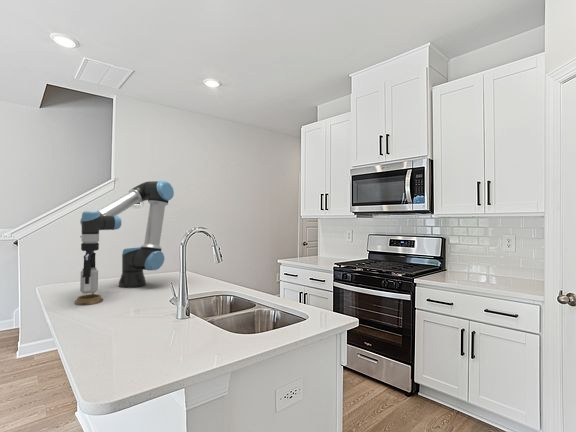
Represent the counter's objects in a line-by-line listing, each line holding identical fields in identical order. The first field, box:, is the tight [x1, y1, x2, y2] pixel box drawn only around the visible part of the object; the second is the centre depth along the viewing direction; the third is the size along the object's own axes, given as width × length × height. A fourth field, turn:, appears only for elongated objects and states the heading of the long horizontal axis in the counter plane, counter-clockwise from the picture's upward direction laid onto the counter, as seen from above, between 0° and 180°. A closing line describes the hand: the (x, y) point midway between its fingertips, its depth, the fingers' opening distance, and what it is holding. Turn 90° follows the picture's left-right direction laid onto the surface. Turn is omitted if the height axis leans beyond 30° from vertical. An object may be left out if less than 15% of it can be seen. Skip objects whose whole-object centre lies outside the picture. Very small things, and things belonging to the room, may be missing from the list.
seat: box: [74, 293, 104, 306], centre depth 166 cm, size 12×12×3 cm
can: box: [79, 267, 99, 295], centre depth 166 cm, size 8×8×12 cm
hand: (89, 288), depth 166 cm, fingers closed on can, 7 cm apart
